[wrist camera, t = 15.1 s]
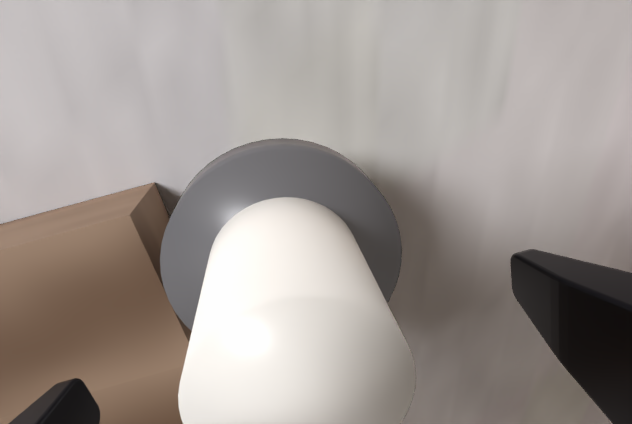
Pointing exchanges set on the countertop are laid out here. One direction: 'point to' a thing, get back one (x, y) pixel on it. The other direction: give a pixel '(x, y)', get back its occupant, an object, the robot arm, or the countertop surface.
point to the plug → (287, 291)
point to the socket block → (91, 309)
